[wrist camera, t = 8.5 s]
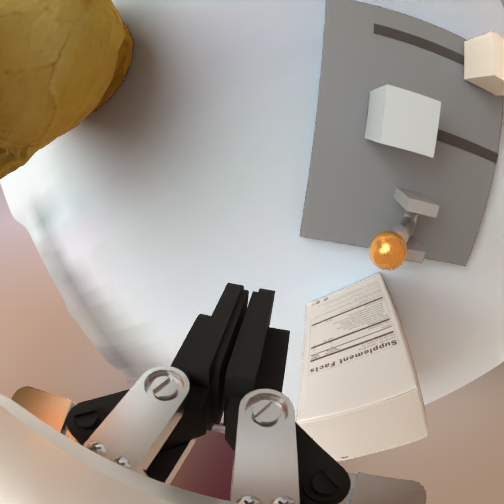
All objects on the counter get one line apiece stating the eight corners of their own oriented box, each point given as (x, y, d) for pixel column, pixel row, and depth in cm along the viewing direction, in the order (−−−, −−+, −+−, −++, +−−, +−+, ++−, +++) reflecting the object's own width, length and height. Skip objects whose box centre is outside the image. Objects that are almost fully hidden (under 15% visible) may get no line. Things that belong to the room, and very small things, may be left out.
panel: (325, 1, 16) (329, -22, 12) (495, 62, 14) (523, 57, 10) (300, 230, 26) (298, 254, 22) (459, 259, 24) (480, 283, 20)
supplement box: (402, 328, 29) (430, 437, 16) (334, 354, 33) (335, 463, 20) (381, 269, 27) (421, 388, 13) (303, 301, 30) (292, 425, 17)
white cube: (370, 91, 18) (387, 84, 14) (415, 103, 18) (441, 101, 13) (364, 137, 20) (379, 143, 16) (409, 149, 20) (433, 157, 15)
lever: (400, 204, 22) (369, 230, 15) (426, 213, 20) (408, 245, 14) (394, 229, 23) (359, 267, 16) (418, 239, 21) (395, 282, 15)
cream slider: (464, 41, 13) (492, 31, 9) (496, 58, 13) (526, 54, 9) (463, 79, 15) (494, 75, 11) (495, 95, 15) (527, 96, 10)
